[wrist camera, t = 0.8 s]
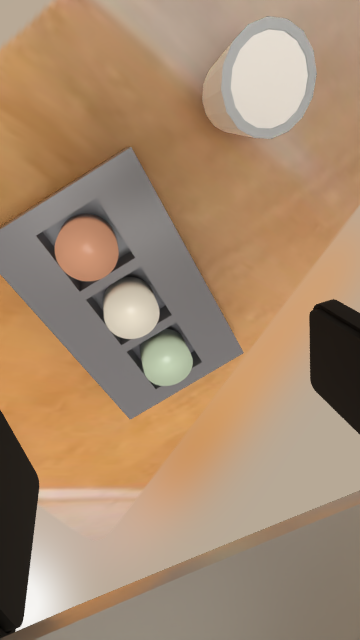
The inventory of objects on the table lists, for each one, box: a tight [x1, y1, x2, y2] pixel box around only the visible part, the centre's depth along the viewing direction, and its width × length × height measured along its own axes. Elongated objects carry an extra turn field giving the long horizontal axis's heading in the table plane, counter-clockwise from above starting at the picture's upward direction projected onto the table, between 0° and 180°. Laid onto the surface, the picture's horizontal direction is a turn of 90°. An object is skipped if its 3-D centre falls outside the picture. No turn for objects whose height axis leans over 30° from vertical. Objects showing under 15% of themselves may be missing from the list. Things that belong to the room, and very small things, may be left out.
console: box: [0, 147, 244, 419], centre depth 33 cm, size 14×22×4 cm, turn 28°
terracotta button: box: [55, 214, 119, 281], centre depth 28 cm, size 5×5×3 cm
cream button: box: [103, 277, 159, 339], centre depth 31 cm, size 5×5×3 cm
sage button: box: [140, 329, 193, 386], centre depth 34 cm, size 5×5×3 cm
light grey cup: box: [202, 16, 317, 139], centre depth 26 cm, size 7×7×7 cm
